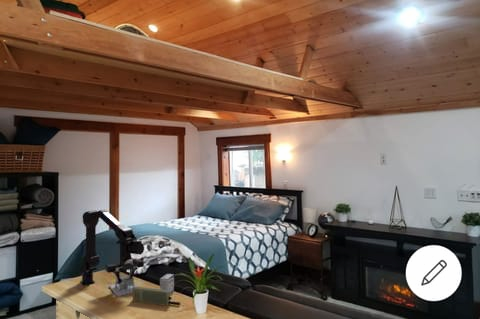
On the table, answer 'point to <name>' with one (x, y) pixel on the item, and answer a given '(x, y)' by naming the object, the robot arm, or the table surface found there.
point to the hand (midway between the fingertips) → (124, 282)
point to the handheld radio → (152, 296)
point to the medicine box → (167, 282)
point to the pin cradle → (121, 289)
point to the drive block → (125, 281)
